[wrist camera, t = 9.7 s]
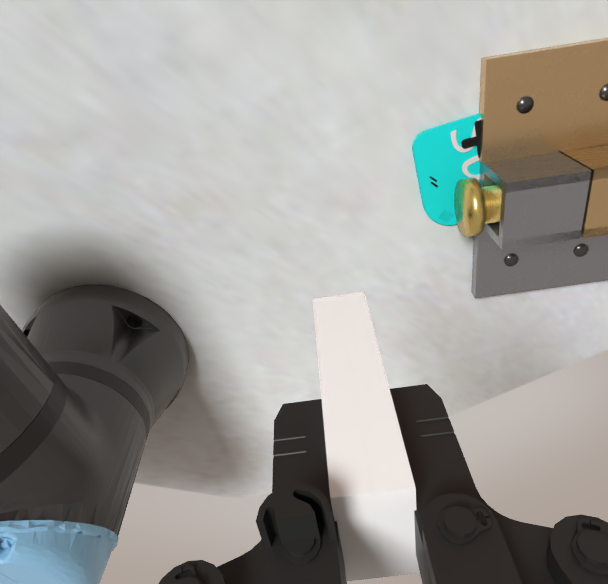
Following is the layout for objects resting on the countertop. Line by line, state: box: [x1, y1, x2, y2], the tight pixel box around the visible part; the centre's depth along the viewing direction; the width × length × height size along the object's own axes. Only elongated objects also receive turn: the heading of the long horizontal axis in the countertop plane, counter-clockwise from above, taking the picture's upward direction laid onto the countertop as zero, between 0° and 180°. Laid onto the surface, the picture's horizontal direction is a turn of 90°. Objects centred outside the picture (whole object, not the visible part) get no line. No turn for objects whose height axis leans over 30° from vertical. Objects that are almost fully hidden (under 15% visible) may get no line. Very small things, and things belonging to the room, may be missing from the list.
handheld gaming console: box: [412, 114, 482, 225], centre depth 39 cm, size 8×1×15 cm
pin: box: [454, 178, 502, 237], centre depth 37 cm, size 20×4×4 cm, turn 98°
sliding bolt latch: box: [472, 38, 608, 298], centre depth 37 cm, size 18×20×6 cm
